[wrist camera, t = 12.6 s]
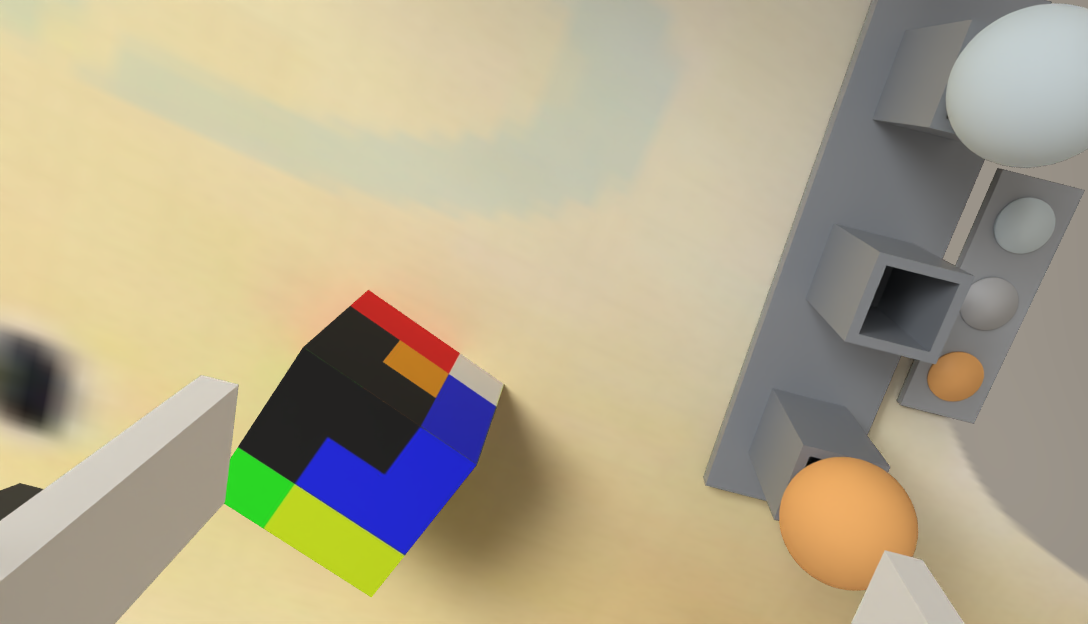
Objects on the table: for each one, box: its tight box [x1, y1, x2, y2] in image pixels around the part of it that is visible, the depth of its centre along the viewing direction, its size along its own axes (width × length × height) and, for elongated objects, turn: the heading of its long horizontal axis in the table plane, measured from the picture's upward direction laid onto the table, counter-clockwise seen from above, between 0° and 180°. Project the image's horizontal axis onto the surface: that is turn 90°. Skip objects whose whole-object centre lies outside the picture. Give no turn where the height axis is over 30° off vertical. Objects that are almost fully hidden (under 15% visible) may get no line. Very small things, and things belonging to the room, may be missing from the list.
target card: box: [897, 168, 1084, 424], centre depth 41 cm, size 14×4×1 cm, turn 167°
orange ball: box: [779, 457, 918, 590], centre depth 34 cm, size 6×6×6 cm
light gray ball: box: [946, 4, 1088, 168], centre depth 28 cm, size 6×6×6 cm
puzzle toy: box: [224, 290, 504, 597], centre depth 41 cm, size 10×10×10 cm
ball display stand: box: [703, 0, 1052, 521], centre depth 37 cm, size 30×8×8 cm, turn 167°
